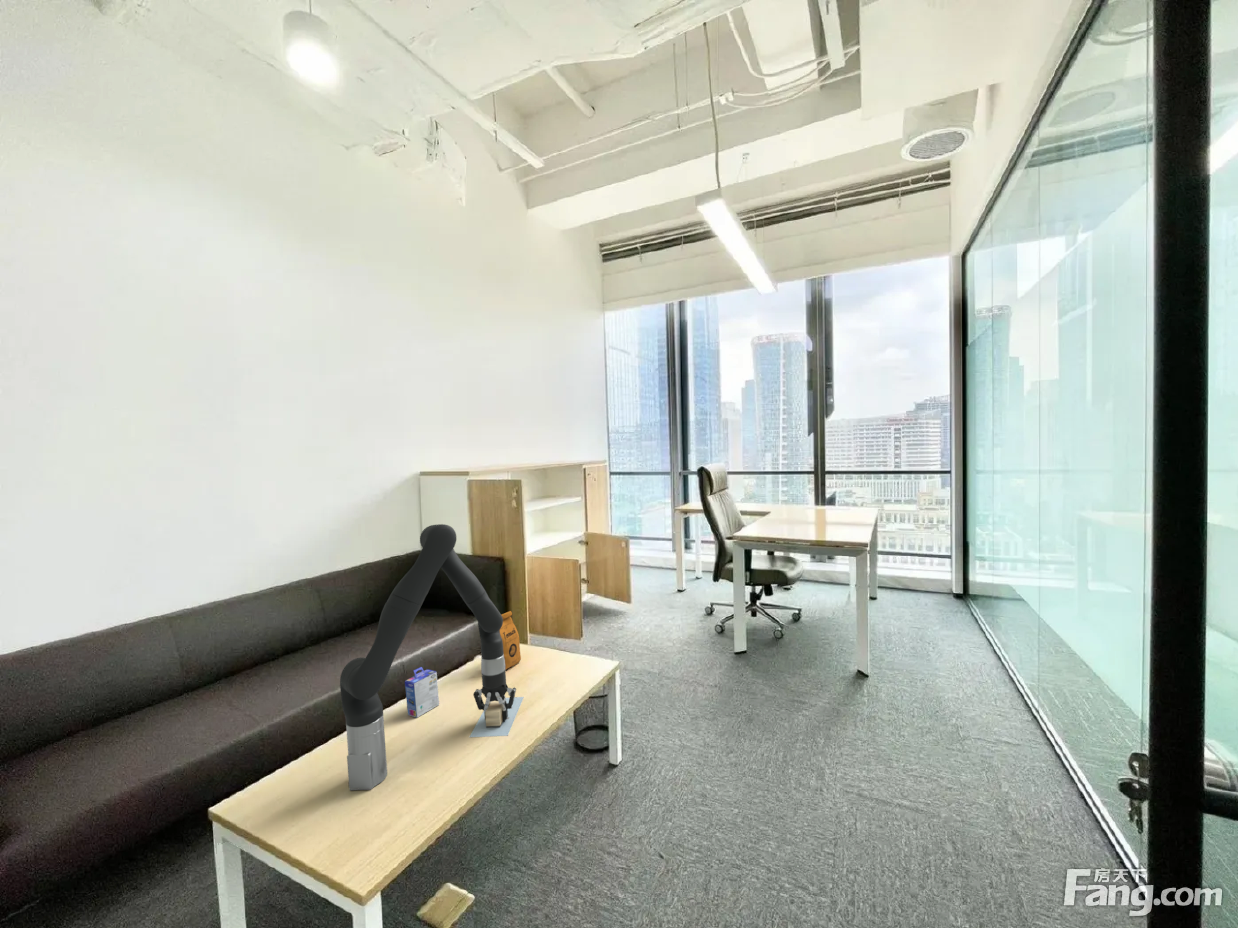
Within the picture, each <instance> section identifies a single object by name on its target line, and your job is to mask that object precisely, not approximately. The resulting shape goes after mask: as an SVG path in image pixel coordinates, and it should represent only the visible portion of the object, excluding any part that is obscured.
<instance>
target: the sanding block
mask: <svg viewBox="0 0 1238 928" xmlns="http://www.w3.org/2000/svg"><path fill="white" fill-rule="evenodd" d="M485 717H486V728H497V727H501V725H502V723H503V721H502V707H501V705H500V704H499V702H498V701H491V703H490V705H489V707H488V708H487V710H486V712H485Z"/></svg>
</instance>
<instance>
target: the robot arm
mask: <svg viewBox="0 0 1238 928" xmlns="http://www.w3.org/2000/svg"><path fill="white" fill-rule="evenodd" d="M419 543H420V546H421V551H420V553H419V555H418V557H417V559H416V561H415V562H414V564H413V565H412V567H410V569H409V570H408V571H407V572H406V573H405V574H404V576H402V578H401V579H400V581H399V582H398V583H397V584H396V585H395V587H394V589H393V590H392V592H391V593H390V595H389V596H388V599H386V602H385V604H384V606H383V607H382V610H381V613H380V617H379V621H378V625H377V630H376V636H375V639H374V641H373V644H372V646H371V648H370V650H369V652H368V653H367V654H366V656H365V657H357V658H354V659H351V660H350V661H349V662H347V664H345V666H344V667H343V668H342V671H341V673H340V678H339V679H340V680H339V688H340V696H341V697H340V698H341V699H340V700H341V707H342V712H343V714H344V717H345V726H346V727H345V728H346V742H347V745H346V746H347V756H346V762H347V776H348V777H347V779H348V790H349V791H364V790H365V791H367V790H373V788H375V786H377V785H379V784H380V783H383V781H384V780H385V779H386V777H387V776H388V764H387V752H386V751H387V750H386V736H385V722H384V721H385V720H384V706H383V703H382V701H381V698H380V695H379V693H378V692H380V690H381V689H382V687H383V685H384V684H385V682H386V679H387V677H388V675H389V672H390V670H391V668H392V665H393V662H394V659H395V657H396V656H397V653H398V651H399V649H400V647H401V644H402V643H403V641H404V639H405V637H406V635H407V633H408V631H409V630H410V628H411V626H412V624H413V622H414V621H415V618H416V616H417V615H418V613H419V611H420V609H421V607H422V605H423V603H424V601H425V599H426V597H427V595H428V593H429V591H430V589H431V587H432V586H433V583H434V581H435V579H436V577H437V574H438V572H439V571H440V569H441V570H442V571H443V572H444V573H445V575H446V576H447V578H448V579H449V581H450V582H451V583H452V585H453V587H454V588H455V589H456V591H457V593H458V594H459V596H460V597H461V599H462V601H463V602H464V603H465V604H466V606H467V607H468V609H469V610H471V612H472V613H473V615H474V617H475V619H476V621H477V627H478V633H479V637H480V654H481V662H480V666H481V668H480V669H481V680H482V681H481V682H482V683H481V685H482V688H480V689H479V688H476V689H475V691H474V692H473V698H474V701H475V703H476V705H477V709H478V710H479V711H481V710H482V711H484V714H485V712H486V710H487V708H488V707H489V705H490V703H491V701H498V702H499V704H500V705H501V707H502V721H503V722H505V720H506V719H507V717H508V710H507V709H511V707H512V705H513V702H514V697H516V692H517V688H516V687H512V688H511V687H508V684H507V677H506V674H507V673H506V670H505V659H504V652H503V641H502V638H501V635H500V629H501V627H502V625H503V618H502V614H501V612H500V611H499V610H498V608H497V607H496V606H495V604H494V602H493V601H492V599H490V597H489V595H488V593H487V591H486V590H485V588H484V586H483V585H482V583H481V582H480V580H479V579H478V578H477V576H476V575H475V574H474V573H473V572H472V570H470V568H468V567H467V565H466V564H465V563H464V562H463V561H462V560H461V558H460V557H459V555H458V554H457V553H456V551H455V549H454V548H455V546H456V543H457V533H456V530H455V528H453V527H452V526H450V525H448V524H443V523H441V524H432V525H429V526H426V527H425V528H424V529H423V530H422V531H421V533H420V536H419ZM507 693H508V694H507ZM482 694H483V695H482ZM506 694H507V695H508V696H509V697H508V698H509V703H507V702H506V698H507V697H506V696H505V695H506ZM482 696H484V697H485V702H484V701H483V700H484V699H483V697H482ZM485 720H486V717H485Z"/></svg>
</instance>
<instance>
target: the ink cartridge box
mask: <svg viewBox="0 0 1238 928" xmlns="http://www.w3.org/2000/svg"><path fill="white" fill-rule="evenodd" d="M418 671H419V672H418ZM437 674H438V673H437V671H436V670H432V669H425V670H424V668H423V667H422V666H420V667H418V668H416V669H413V676H412V677H409V678H408V679H406V680H405V681H404V687H405V697H406V708H407V716H410V717H413V718H415V719H417V718H419V717H421V716H422V715H424V714H426V713H427V712H429V711H431V710H433V709H434V708H436V707H438V706H439V705H440V700H439V698H440V697H439V685H438V675H437Z"/></svg>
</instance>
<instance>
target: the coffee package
mask: <svg viewBox="0 0 1238 928" xmlns="http://www.w3.org/2000/svg"><path fill="white" fill-rule="evenodd" d="M501 615H502V618H503V625H502V627H501V629H500V635H501V638H502V641H503V652H504V659H505V671H506V670H507V669H508V670H509V668H511V667H514V666H515V665H517V664H519V663H520V662H521V659H522V656H521V646H520V645H521V644H520V636H519V635H520V634H519V631H518V630H517V626H516V625H515V624H514V621H513V619H512V617H511V616H512V615H513V612H512V611H511V610H509V611H507V612H505V613H502V614H501Z"/></svg>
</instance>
